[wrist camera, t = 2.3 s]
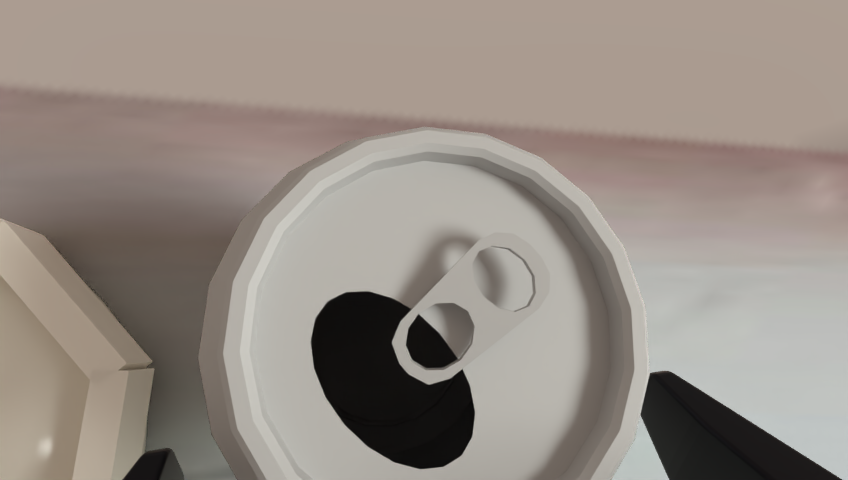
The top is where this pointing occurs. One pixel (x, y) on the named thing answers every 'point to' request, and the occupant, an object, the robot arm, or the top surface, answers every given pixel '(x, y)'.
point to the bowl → (64, 371)
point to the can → (424, 321)
